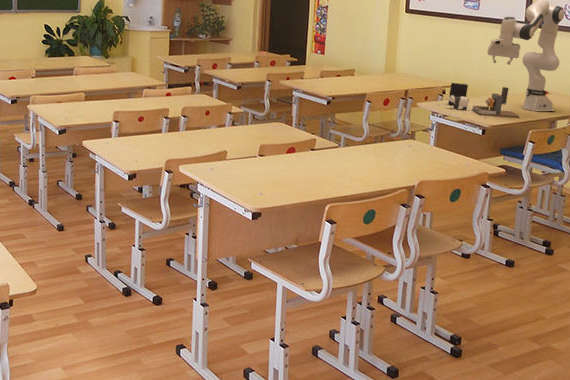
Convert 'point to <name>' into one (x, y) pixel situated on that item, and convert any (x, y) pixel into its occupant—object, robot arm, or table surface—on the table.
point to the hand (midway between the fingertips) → (501, 63)
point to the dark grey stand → (494, 108)
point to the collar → (490, 102)
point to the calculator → (458, 91)
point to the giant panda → (459, 102)
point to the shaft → (504, 94)
